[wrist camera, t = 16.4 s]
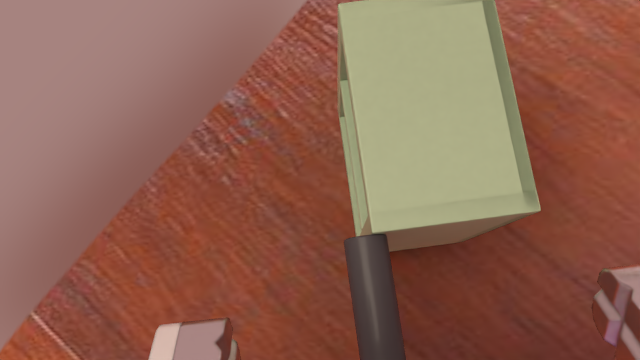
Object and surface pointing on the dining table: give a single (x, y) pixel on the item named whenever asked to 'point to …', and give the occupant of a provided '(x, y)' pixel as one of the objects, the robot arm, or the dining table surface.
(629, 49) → the dining table surface
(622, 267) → the robot arm
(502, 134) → the green shelf unit
